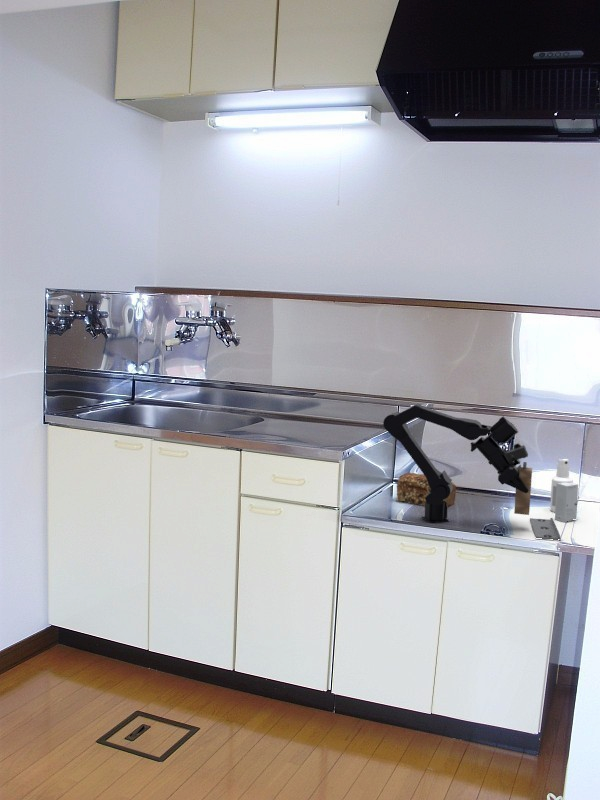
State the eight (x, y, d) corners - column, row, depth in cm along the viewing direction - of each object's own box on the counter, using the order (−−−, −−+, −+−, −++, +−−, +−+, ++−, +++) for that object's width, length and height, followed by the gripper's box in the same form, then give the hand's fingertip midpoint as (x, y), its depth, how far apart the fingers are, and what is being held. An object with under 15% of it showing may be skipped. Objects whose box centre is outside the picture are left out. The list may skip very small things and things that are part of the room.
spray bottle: (557, 514, 280) (560, 461, 278) (546, 509, 286) (549, 457, 284) (575, 513, 282) (578, 461, 279) (563, 508, 288) (566, 457, 286)
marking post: (514, 513, 258) (517, 462, 256) (515, 510, 263) (518, 460, 261) (528, 514, 257) (532, 464, 255) (529, 511, 261) (532, 461, 259)
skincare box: (564, 522, 269) (567, 485, 267) (553, 519, 273) (555, 483, 271) (577, 520, 272) (579, 484, 271) (566, 517, 276) (568, 481, 275)
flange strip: (560, 540, 248) (560, 536, 247) (535, 539, 249) (536, 534, 249) (552, 522, 269) (552, 517, 269) (529, 520, 270) (530, 516, 270)
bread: (395, 502, 293) (396, 474, 291) (408, 496, 302) (409, 469, 300) (444, 510, 283) (446, 481, 282) (456, 504, 292) (457, 476, 290)
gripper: (511, 441, 249) (547, 480, 247) (514, 432, 267) (548, 468, 265) (483, 464, 253) (518, 503, 251) (488, 454, 270) (521, 490, 268)
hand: (527, 490), depth 259 cm, fingers closed on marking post, 4 cm apart
